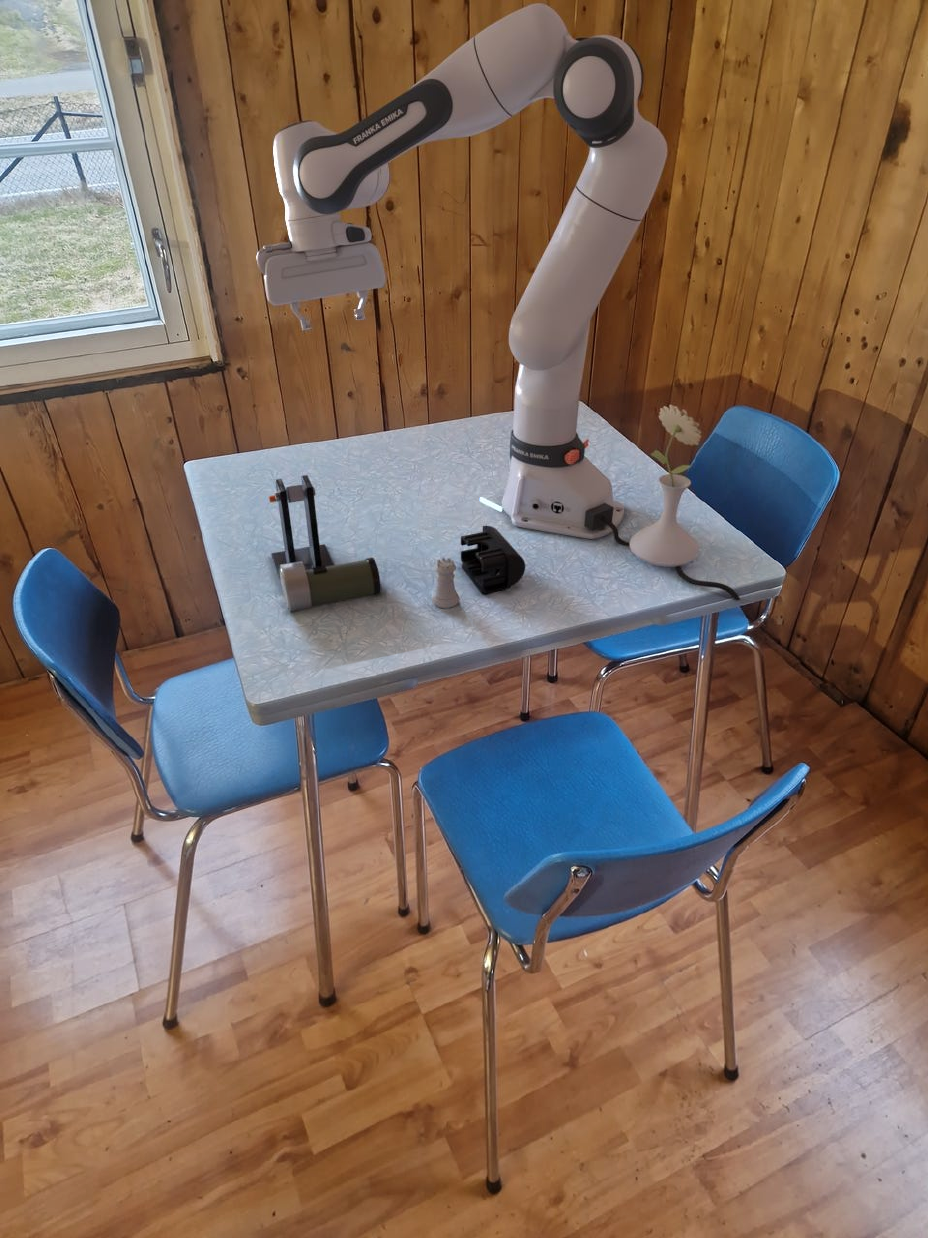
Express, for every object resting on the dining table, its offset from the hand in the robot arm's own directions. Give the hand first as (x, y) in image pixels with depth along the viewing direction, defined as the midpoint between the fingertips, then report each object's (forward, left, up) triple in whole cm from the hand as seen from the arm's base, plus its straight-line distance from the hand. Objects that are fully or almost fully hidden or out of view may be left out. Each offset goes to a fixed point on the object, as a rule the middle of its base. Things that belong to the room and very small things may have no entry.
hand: (333, 324), depth 143 cm
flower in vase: (-61, -6, -31) cm, 68 cm away
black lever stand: (-13, +29, -30) cm, 44 cm away
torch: (-22, +33, -30) cm, 50 cm away
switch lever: (-9, +25, -21) cm, 34 cm away
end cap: (-40, +15, -31) cm, 52 cm away
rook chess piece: (-38, +26, -31) cm, 55 cm away
